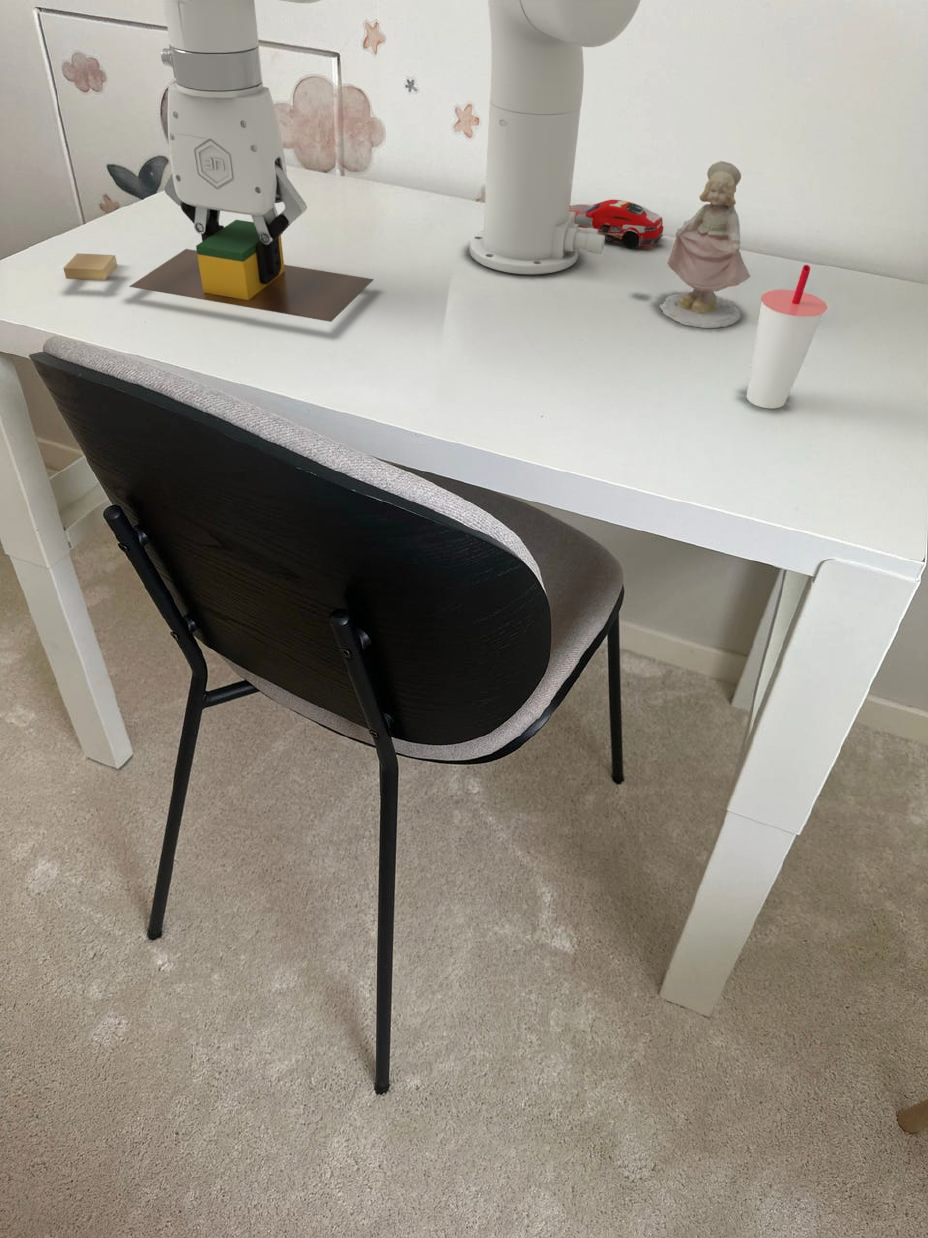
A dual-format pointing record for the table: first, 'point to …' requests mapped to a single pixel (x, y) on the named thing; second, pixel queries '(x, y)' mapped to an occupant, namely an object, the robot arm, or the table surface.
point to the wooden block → (90, 266)
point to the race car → (620, 222)
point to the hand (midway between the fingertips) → (244, 272)
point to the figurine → (709, 255)
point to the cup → (782, 342)
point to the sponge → (232, 261)
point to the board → (284, 294)
